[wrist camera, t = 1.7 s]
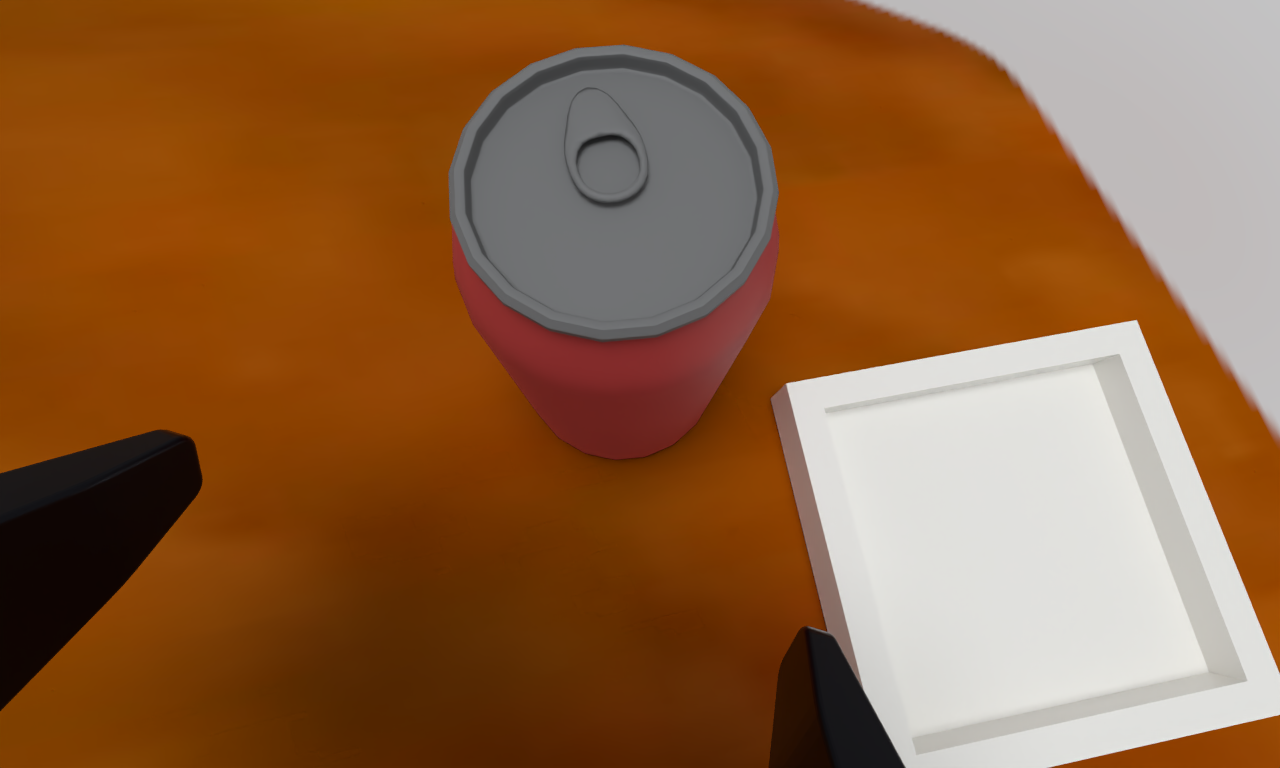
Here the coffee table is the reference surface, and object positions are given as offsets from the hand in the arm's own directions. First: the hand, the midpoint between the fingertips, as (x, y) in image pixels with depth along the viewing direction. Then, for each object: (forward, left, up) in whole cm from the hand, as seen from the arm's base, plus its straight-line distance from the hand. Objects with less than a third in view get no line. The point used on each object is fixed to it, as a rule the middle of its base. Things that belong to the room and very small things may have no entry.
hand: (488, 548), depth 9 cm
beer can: (+6, -3, -12) cm, 14 cm away
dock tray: (-2, -14, -12) cm, 18 cm away
